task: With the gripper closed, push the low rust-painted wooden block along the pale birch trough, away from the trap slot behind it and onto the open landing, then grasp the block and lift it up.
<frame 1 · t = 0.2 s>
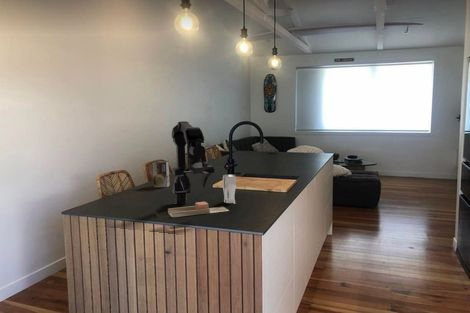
hand: (193, 188, 178), 13 cm above the table, fingers open, 9 cm apart
beer glass: (229, 203, 206), on the table
block: (202, 211, 187), point 1 cm above the table, touching trap trough
trap trough: (199, 213, 186), on the table
coffee box: (161, 186, 253), on the table
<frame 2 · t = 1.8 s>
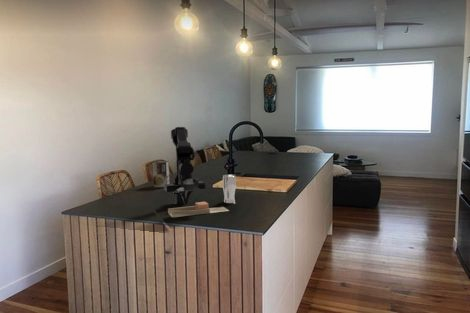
hand: (185, 204, 183), 5 cm above the table, fingers closed
nothing on the table moved.
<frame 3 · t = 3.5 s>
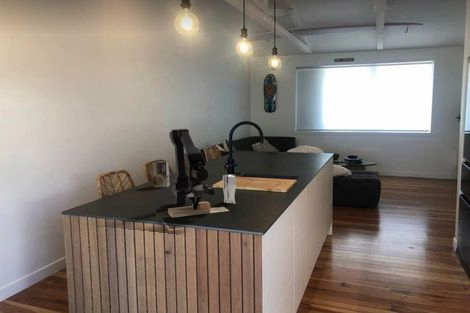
hand: (195, 210, 185), 2 cm above the table, fingers closed
block: (203, 211, 187), point 1 cm above the table, touching gripper
everything else where it was.
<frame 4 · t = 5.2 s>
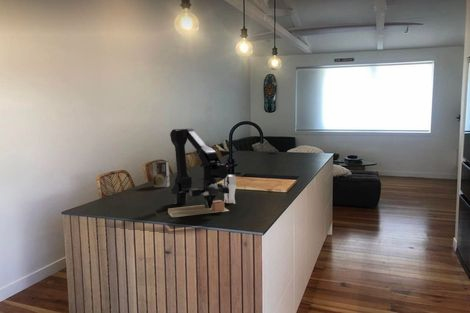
hand: (209, 208, 188), 2 cm above the table, fingers closed
block: (217, 209, 190), point 1 cm above the table, touching gripper, trap trough
everything else where it was.
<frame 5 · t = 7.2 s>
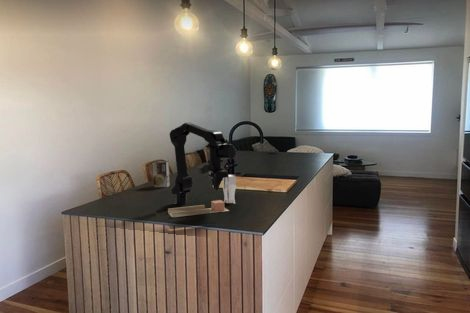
hand: (215, 189, 188), 11 cm above the table, fingers closed
block: (217, 209, 190), point 1 cm above the table, touching trap trough
everything else where it was.
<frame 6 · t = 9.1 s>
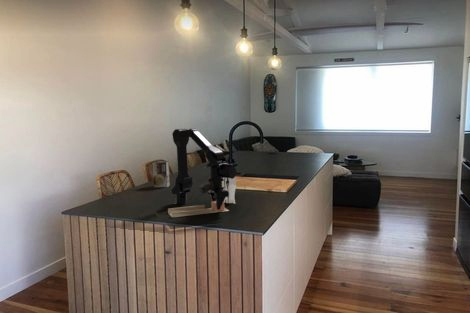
hand: (216, 208, 189), 2 cm above the table, fingers closed on block, 5 cm apart
block: (217, 209, 190), point 1 cm above the table, touching gripper
everything else where it was.
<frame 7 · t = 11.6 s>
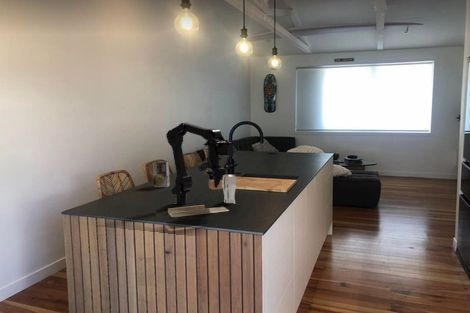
hand: (214, 186, 191), 12 cm above the table, fingers closed on block, 5 cm apart
block: (215, 188, 191), point 11 cm above the table, touching gripper
everything else where it was.
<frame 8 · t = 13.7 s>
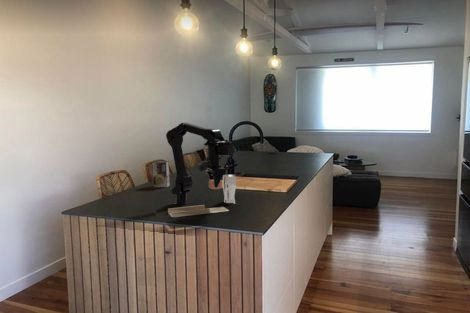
hand: (214, 186, 191), 12 cm above the table, fingers closed on block, 5 cm apart
block: (215, 188, 191), point 11 cm above the table, touching gripper
everything else where it was.
at the end: block inside the target area (2.1 cm from its centre), point 11.2 cm above the table; the gripper is holding block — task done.
